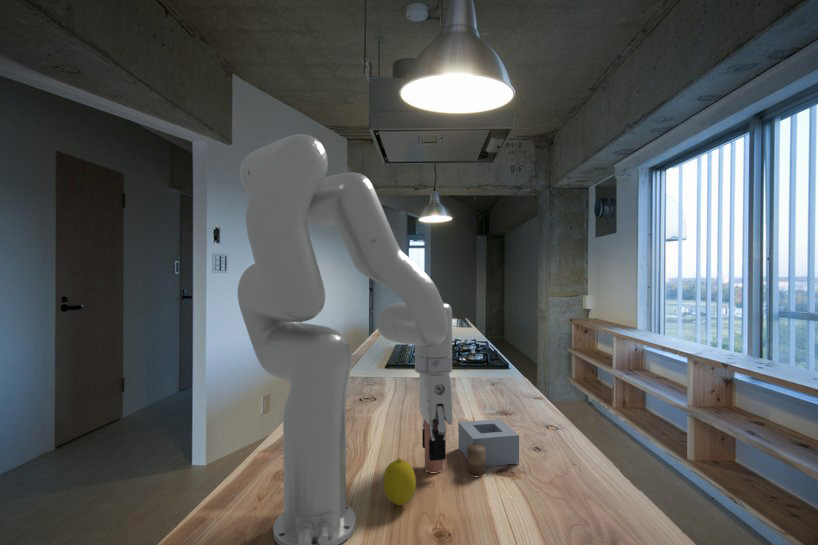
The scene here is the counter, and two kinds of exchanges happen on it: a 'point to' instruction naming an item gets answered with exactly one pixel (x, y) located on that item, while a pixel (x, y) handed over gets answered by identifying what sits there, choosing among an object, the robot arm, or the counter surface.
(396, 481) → the lemon
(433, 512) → the counter surface
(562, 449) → the counter surface
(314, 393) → the robot arm
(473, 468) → the short pin
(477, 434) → the hole block
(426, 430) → the long pin
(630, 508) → the counter surface
